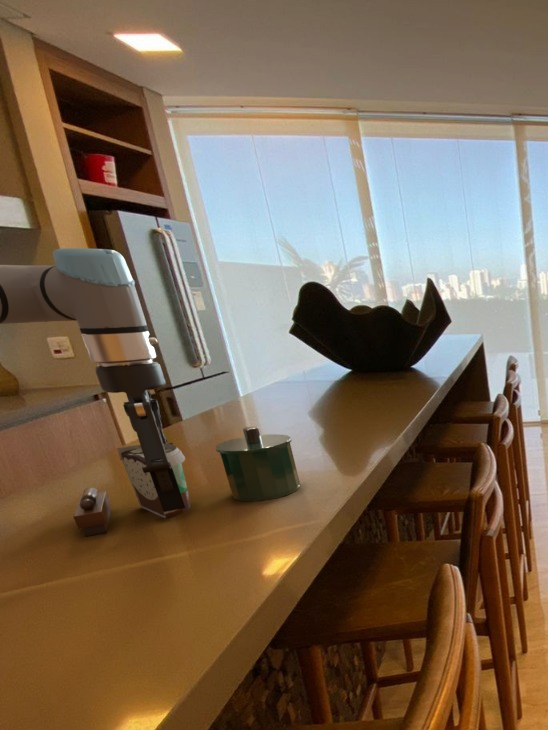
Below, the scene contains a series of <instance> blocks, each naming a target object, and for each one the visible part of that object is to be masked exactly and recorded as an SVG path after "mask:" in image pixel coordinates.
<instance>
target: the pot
mask: <svg viewBox="0 0 548 730" xmlns="http://www.w3.org/2000/svg"><path fill="white" fill-rule="evenodd" d="M219 454H220V455H219V456H220V458H221V462H222V465H223V469H224V472H225V475H226V479H227V482H228V485H229V489H230V492H231V495H232V498H233V500H235V501H239V502H261V501H268V500H273V499H279V498H282V497H286V496H288V495H291V494H294V493H295V492H297V491H298V490H299V489H300V488H301V481H300V477H299V472H298V469H297V466H296V461H295V457H294V453H293V449H292V446H291V442H290V443H289V444H287V445H284V446H282V447H278V448H275V449H270V450H265V451H260V452H252V453H241V454H226V453H220V452H219Z"/></svg>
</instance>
